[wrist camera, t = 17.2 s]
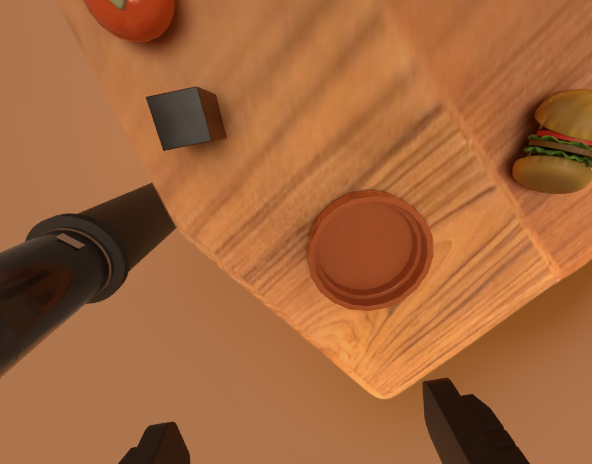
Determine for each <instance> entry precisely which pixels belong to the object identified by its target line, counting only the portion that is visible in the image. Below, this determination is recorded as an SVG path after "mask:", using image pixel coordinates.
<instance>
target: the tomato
mask: <svg viewBox="0 0 592 464" xmlns="http://www.w3.org/2000/svg"><path fill="white" fill-rule="evenodd" d="M84 2H85V4H86V6H87V8H88V10H89V12H90V13H91V15H92V16H93V17H94V18H95V19H96V20H97V22H98V23H99V24H100V25H101V26H102V27H104V28H105V29H106V30H108V31H109V32H110V33H112V34H113V35H115V36H116V37H118V38H121V39H125V40H128V41H131V42H149V41H151V40H153V39H156V38H158V37H160V36H161V35H162V34H163V33H164V32H165V31H166V30H168V28H169V26H170V24H171V22H172V19H173V14H174V7H175V2H174V0H84Z"/></svg>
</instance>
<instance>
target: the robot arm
mask: <svg viewBox="0 0 592 464" xmlns="http://www.w3.org/2000/svg"><path fill="white" fill-rule="evenodd" d="M112 275H113V263H112V259H111V256H110V254H109V252H108V251H107V249H106V248H105V246H104V245H103V244H102V243H101V242H100V241H99V240H98V239H97V238H95V237H94V236H93V235H91V234H89V233H87V232H85V231H83V230H80V229H77V228H72V227H59V228H54V229H51V230H49V231H47V232H45V233H43V234H41V235H40V236H38V237H35V238H33V239H31V240H28V241H26V242H23V243H21V244H19V245H17V246H14V247H12V248H10V249H8V250H5V251H3V252H1V253H0V378H1V377H2V376H4V375H5V374H6V373H7V372H8V371H9V370H10V369H11V368H12V367H14V366H15V365H16V364H17V363H18V362H19V361H20V360H22V359H23V358H24V357H25V356H26V355H27V354H28V353H30V352H31V351H32V350H33V349H34V348H35V347H36V346H38V345H39V344H40V343H41V342H42V341H43V340H44V339H46V338H47V337H48V336H49V335H50V334H51V333H52V332H53V331H55V330H56V329H57V328H58V327H59V326H60V325H61V324H63V323H64V322H65V321H66V320H67V319H69V318H70V317H71V316H72V315H73V314H74V313H75V312H77V311H78V310H79V309H80V308H81V307H82V306H83V305H85V304H86V303H87V302H88V301H89V300H90V299H92V298H93V297H94V296H95V295H96V294H98V293H99V292H101V291H102V290H103V289H104V288H105V287H106V286H107V285H108V284H109V282H110V280H111V278H112ZM423 400H424V416H425V421H426V425H427V429H428V432H429V435H430V437H431V440H432V442H433V444H434V446H435V448H436V450H437V453H438V455H439V457H440V459H441V462H442V464H530V463H529V462H528V460H527V459H526V458H525V456H524V455H523V453H522V452H521V451H520V449H519V448H518V447H517V446H516V445H515V442H514V441H513V439H512V438H511V437H510V435H509V434H508V432H507V431H505V430H504V427H503V425H502V424H501V423H500V421H499V420H498V419H497V417H496V416H495V414H494V413H493V411H492V410H491V409H490V408H489V407H488V406H487V405H486V404H484V403H483V402H482V401H480V400H479V399H478V398H477V397H475V396H474V395H473V394H469V395H463V396H460V394H459V392H458V391H457V390H456V388H455V386H454V385H453V383H452V382H451V380H450V379H449V378H441V379H436V380H429V381H424V382H423ZM118 464H190V455H189V452H188V449H187V447H186V445H185V443H184V440H183V439H182V436H181V434H180V431H179V429H178V427H177V425H176V423H175V422H167V423H161V424H155V425H150V426H149V427H147V429H146V430H145V432H144V434H143V436H142V438H141V440H140V442H139V444H138V446H137V447H134V448H131V449H130V450H129V451H128V452H127V454H126V455H125V456H124V457H123V459H122V460H121V461H120V462H119V463H118Z"/></svg>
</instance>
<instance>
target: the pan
mask: <svg viewBox="0 0 592 464" xmlns="http://www.w3.org/2000/svg"><path fill="white" fill-rule="evenodd" d="M307 255H308V261H309V266H310V271H311V276H312V278H313V280H314V282H315V283H316V285H317V287H318V289H319V290H320V291H321V293H323V294H324V295H325V296H326V297H327V298H329V299H330V300H331V301H332V302H334V303H336V304H338V305H341V306H343V307H345V308H348V309H353V310H363V311H371V310H376V309H382V308H387V307H389V306H391V305H393V304H395V303H398V302H400V301H402V300H404V299H405V298H406V297H407V296H409V295H410V294H411V293H412V292H413V291H415V290H416V289H417V288H418V287H419V285H420V284H421V282H422V281H423V279H424V278H425V276H426V275H427V273H428V271H429V268H430V265H431V261H432V258H433V237H432V234H431V232H430V229H429V227H428V224H427V222H426V220H425V219H424V218H423V217H422V216H421V215H420V214H419V213H418V212H417V210H416V209H415V208H414V207H412V206H411V205H409V204H408V203H406V202H405V201H403V200H401V199H399V198H397V197H395V196H393V195H391V194H389V193H386V192H379V191H371V190H366V191H361V192H355V193H350V194H347V195H345V196H344V197H342V198H340V199H338V200H336V201H334V202H332V203H331V204H330V205H329V206H328V207H327V208H326V209H325V210H324V211H323V212H322V213H321V214H320V215H319V216H318V217H317V219H316V221H315V223H314V225H313V227H312V229H311V231H310V233H309V239H308V245H307Z"/></svg>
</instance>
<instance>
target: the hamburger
mask: <svg viewBox="0 0 592 464" xmlns="http://www.w3.org/2000/svg"><path fill="white" fill-rule="evenodd" d="M591 73H592V72H591ZM534 117H535V118H536V120H537V121H538V122H539V123H540V124H541V125H540V128H539V131H537V133H536V135H530V136H529V137H528V138H527V139H528V140H530V142H529V143H528V145H529V146H530V147H526V148H524V149H523V150H524V152H528V153H529V154H528V156H527V157H525V158H521V159H519V160H517V161H516V162H515V163H514V166H513V169H512V174H513V177H514V179H515V180H516V181H517V182H518V183H519V184H521V185H523V186H524V187H527V188H529V189H531V190H535V191H538V192H543V193H550V194H566V193H572V192H576V191H579V190H581V189H583V188H584V187H586V186H587V185H588V184H589V182H590V181H591V179H592V171H591V169H590V168H588V167H591V168H592V90H588V89H576V90H568V91H563V92H561V93H558V94H555V95H553V96H551V97H549V98H548V99H546V100H545V101H544V102H543V103H542V104H541V105H540V106H539V107H538V109H537V110H536V112H535V115H534ZM542 127H546V128H547V129H549V130H553V131H547V130H540V129H541V128H542ZM534 153H539V154H540V155H535V156H531V154H534ZM582 163H584V164H585V165H586V166H587V167H586V166H585V165H583V164H582Z"/></svg>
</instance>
